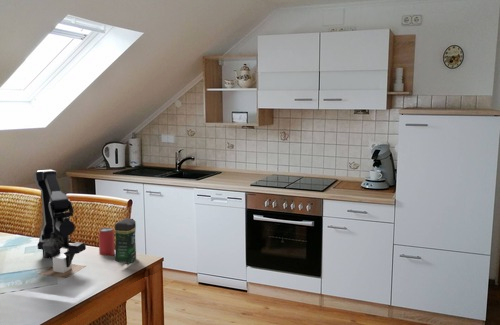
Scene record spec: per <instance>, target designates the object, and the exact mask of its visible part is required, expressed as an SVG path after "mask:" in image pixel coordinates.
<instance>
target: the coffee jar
mask: <svg viewBox="0 0 500 325" xmlns="http://www.w3.org/2000/svg"><path fill="white" fill-rule="evenodd" d="M136 226H137V223H136V221H135V220H134V218H127V217H125V218H123V219H121V220H118V221H117V222H116V223H115V224H114V237H115V254H114V257H115V258H114V260H115V261H116V262H118V263H119V262H120V263H124V265H127V264H129V265H130V264H131V263H133V262H134V261H136V259H137V249H136V229H137V227H136Z"/></svg>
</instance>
